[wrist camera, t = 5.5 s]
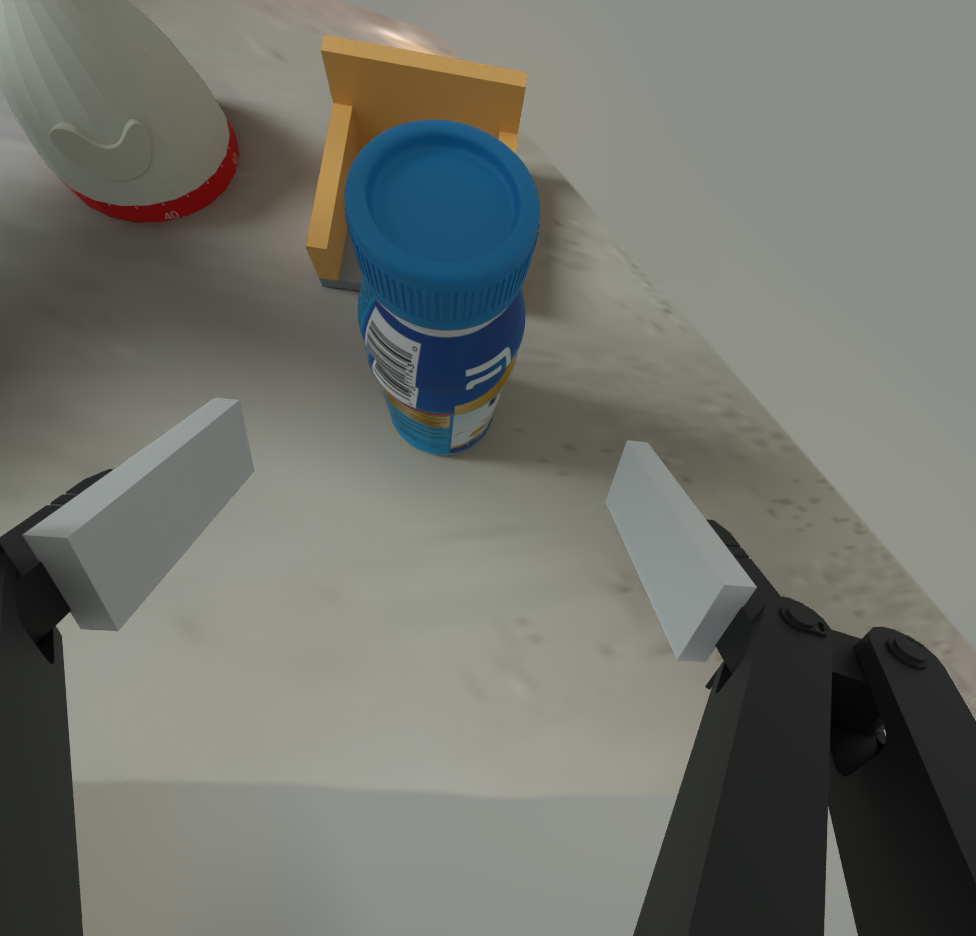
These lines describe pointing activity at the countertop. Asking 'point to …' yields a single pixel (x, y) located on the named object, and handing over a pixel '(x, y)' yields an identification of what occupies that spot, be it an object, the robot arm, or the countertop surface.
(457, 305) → the beverage bottle
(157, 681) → the countertop surface
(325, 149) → the chute bracket
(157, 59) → the kitchen timer
